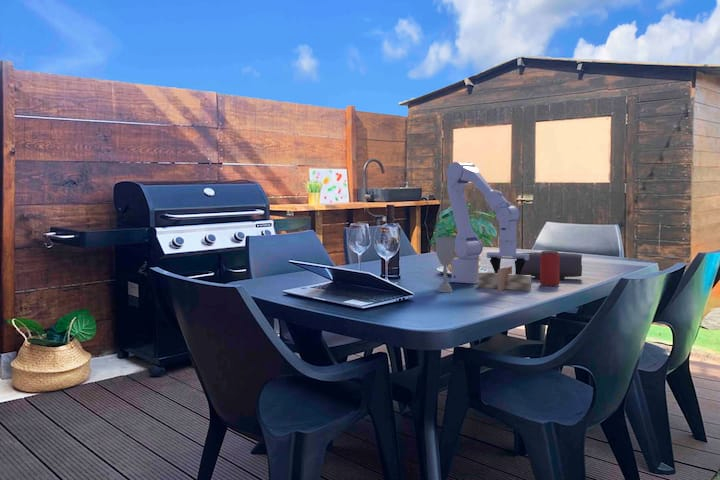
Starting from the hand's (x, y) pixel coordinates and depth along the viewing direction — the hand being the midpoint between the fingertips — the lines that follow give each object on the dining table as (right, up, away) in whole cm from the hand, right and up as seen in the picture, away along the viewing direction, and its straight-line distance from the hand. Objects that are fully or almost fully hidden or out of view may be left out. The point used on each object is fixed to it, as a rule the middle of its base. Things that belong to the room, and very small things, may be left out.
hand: (507, 279), depth 214 cm
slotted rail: (-2, -3, -3) cm, 4 cm away
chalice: (-23, -4, -7) cm, 24 cm away
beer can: (+16, -2, +3) cm, 16 cm away
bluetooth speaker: (+20, -1, +19) cm, 28 cm away
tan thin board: (-1, -3, -2) cm, 4 cm away
